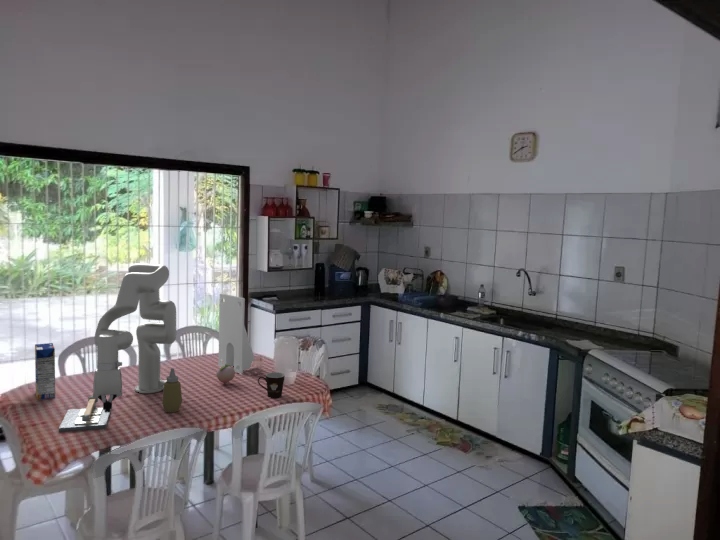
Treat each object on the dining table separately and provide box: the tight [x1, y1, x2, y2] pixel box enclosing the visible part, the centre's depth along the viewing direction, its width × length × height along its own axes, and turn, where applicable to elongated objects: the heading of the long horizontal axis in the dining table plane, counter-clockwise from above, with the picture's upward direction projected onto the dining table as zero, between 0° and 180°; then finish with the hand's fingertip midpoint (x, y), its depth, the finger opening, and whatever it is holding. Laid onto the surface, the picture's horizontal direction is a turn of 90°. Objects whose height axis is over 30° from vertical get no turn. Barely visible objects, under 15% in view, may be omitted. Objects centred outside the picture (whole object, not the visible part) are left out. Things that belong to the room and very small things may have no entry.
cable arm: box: [82, 395, 99, 422], centre depth 223 cm, size 4×24×2 cm, turn 18°
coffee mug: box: [257, 371, 286, 399], centre depth 260 cm, size 12×9×10 cm
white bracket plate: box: [217, 292, 256, 374], centre depth 300 cm, size 20×14×40 cm
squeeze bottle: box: [161, 368, 183, 413], centre depth 236 cm, size 8×8×18 cm
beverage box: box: [34, 342, 56, 401], centre depth 247 cm, size 7×11×22 cm, turn 33°
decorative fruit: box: [216, 364, 236, 385], centre depth 274 cm, size 9×8×10 cm
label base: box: [58, 402, 112, 433], centre depth 223 cm, size 16×23×3 cm
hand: (107, 411), depth 221 cm, fingers closed
